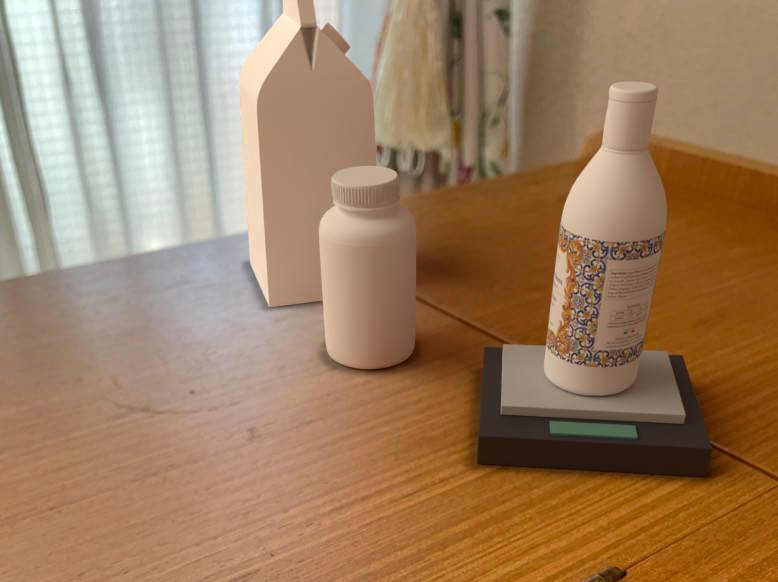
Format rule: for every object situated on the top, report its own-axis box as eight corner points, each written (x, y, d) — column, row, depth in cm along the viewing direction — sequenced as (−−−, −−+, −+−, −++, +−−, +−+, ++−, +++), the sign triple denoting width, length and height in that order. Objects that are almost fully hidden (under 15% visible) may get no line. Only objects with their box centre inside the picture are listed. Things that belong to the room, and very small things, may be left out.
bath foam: (539, 354, 69) (571, 73, 57) (628, 356, 69) (681, 74, 56) (545, 397, 64) (582, 98, 51) (642, 400, 63) (703, 99, 51)
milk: (250, 263, 94) (219, -23, 77) (353, 251, 96) (344, -29, 80) (269, 307, 85) (239, -6, 68) (383, 293, 87) (380, -14, 71)
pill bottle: (307, 357, 76) (294, 180, 67) (358, 324, 81) (354, 154, 72) (382, 380, 73) (380, 196, 63) (431, 344, 78) (436, 168, 68)
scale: (676, 381, 72) (685, 345, 70) (705, 477, 61) (715, 438, 59) (482, 372, 74) (485, 337, 72) (476, 463, 63) (479, 425, 61)
